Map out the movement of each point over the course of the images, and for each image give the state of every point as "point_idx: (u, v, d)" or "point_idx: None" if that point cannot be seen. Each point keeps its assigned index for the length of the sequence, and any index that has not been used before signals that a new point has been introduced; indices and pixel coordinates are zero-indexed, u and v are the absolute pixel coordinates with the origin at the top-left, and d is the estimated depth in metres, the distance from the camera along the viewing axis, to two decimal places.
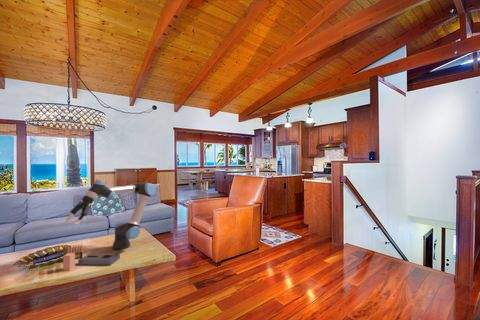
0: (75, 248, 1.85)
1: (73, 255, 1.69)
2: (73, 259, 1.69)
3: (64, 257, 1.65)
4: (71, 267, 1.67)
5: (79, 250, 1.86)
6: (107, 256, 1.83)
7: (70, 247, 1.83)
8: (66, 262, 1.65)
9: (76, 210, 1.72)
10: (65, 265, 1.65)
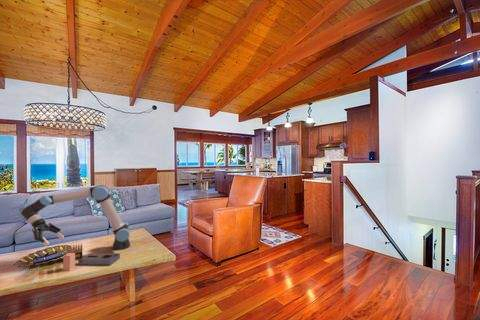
0: (75, 248, 1.85)
1: (73, 255, 1.69)
2: (73, 259, 1.69)
3: (64, 257, 1.65)
4: (71, 267, 1.67)
5: (79, 250, 1.86)
6: (107, 256, 1.83)
7: (70, 247, 1.83)
8: (66, 262, 1.65)
9: (52, 230, 1.73)
10: (65, 265, 1.65)
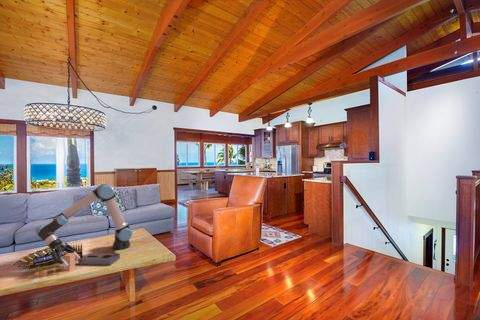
0: (75, 248, 1.85)
1: (73, 255, 1.69)
2: (73, 259, 1.69)
3: (64, 257, 1.65)
4: (71, 267, 1.67)
5: (79, 250, 1.86)
6: (107, 256, 1.83)
7: None
8: (66, 262, 1.65)
9: (68, 251, 1.73)
10: None
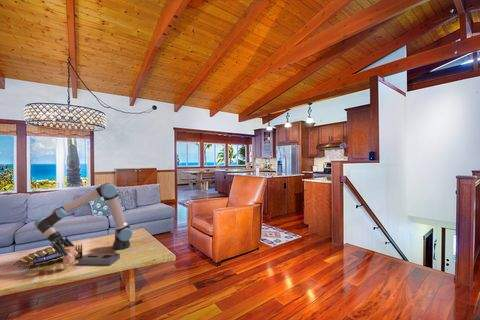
0: (75, 248, 1.85)
1: (73, 248, 1.68)
2: (73, 252, 1.68)
3: None
4: (71, 260, 1.66)
5: (79, 250, 1.86)
6: (107, 256, 1.83)
7: None
8: None
9: (66, 245, 1.70)
10: (64, 258, 1.65)
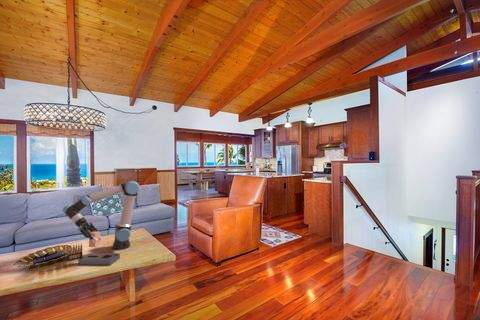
0: (75, 248, 1.85)
1: (98, 233, 1.81)
2: (98, 237, 1.81)
3: None
4: (96, 244, 1.79)
5: (79, 250, 1.86)
6: (107, 256, 1.83)
7: (70, 247, 1.83)
8: (91, 240, 1.78)
9: (91, 230, 1.83)
10: (90, 242, 1.78)
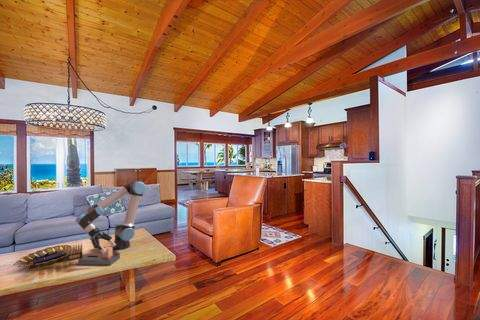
0: (75, 248, 1.85)
1: (111, 249, 1.81)
2: (111, 252, 1.81)
3: None
4: None
5: (79, 250, 1.86)
6: None
7: (70, 247, 1.83)
8: (105, 255, 1.78)
9: (105, 238, 1.85)
10: (104, 257, 1.78)
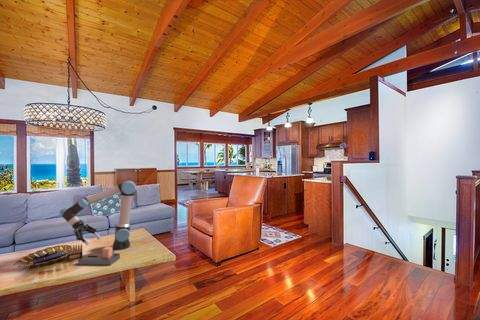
0: (75, 248, 1.85)
1: (111, 249, 1.81)
2: (111, 252, 1.81)
3: (103, 250, 1.78)
4: None
5: (79, 250, 1.86)
6: None
7: (70, 247, 1.83)
8: (105, 255, 1.78)
9: (90, 231, 1.86)
10: (104, 257, 1.78)
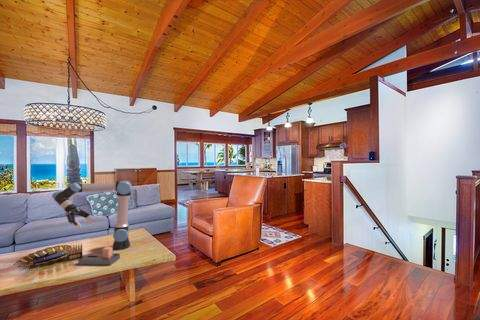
0: (75, 248, 1.85)
1: (111, 249, 1.81)
2: (111, 252, 1.81)
3: (103, 250, 1.78)
4: None
5: (79, 250, 1.86)
6: None
7: (70, 247, 1.83)
8: (105, 255, 1.78)
9: (82, 215, 1.86)
10: (104, 257, 1.78)
